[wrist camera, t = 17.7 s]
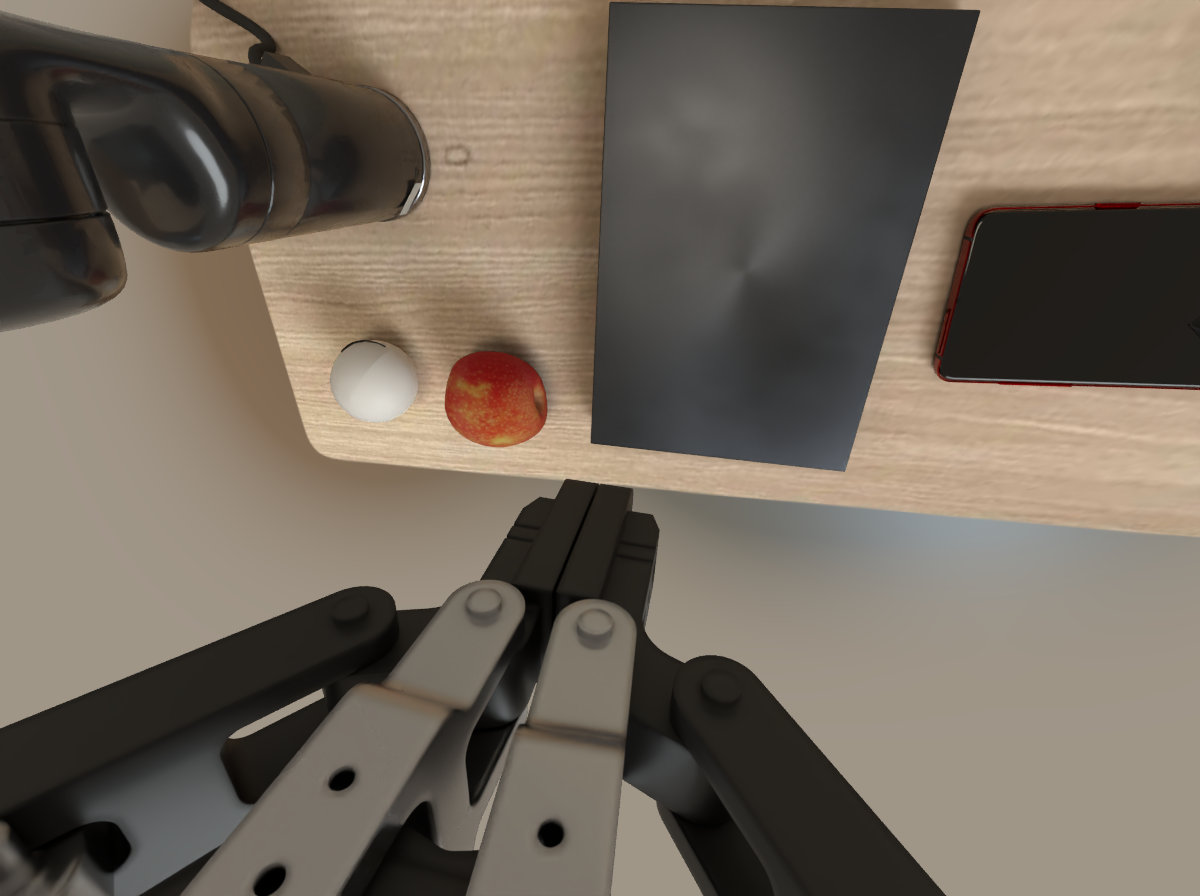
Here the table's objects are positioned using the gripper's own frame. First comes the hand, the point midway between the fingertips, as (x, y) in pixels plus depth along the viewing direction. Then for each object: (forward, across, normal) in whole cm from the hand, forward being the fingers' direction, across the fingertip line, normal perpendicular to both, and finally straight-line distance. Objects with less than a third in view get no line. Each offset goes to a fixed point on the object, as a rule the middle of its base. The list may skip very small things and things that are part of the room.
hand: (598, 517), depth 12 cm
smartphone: (+35, -31, 0) cm, 47 cm away
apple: (+35, +15, +12) cm, 40 cm away
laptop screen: (+33, -4, 0) cm, 33 cm away
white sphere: (+35, +28, +12) cm, 46 cm away
